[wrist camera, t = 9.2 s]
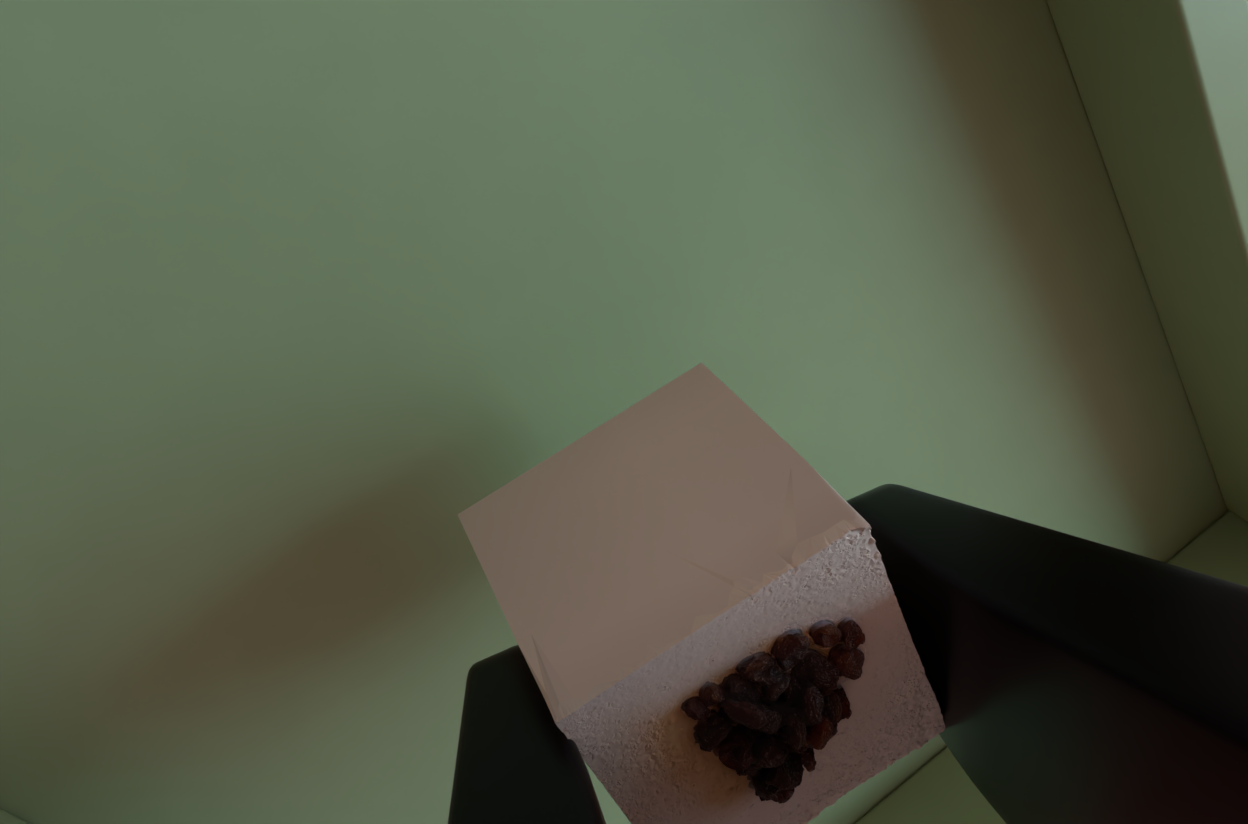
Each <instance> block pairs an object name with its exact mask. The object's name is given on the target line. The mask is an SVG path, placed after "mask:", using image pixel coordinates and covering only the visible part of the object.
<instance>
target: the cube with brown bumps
mask: <svg viewBox="0 0 1248 824" xmlns="http://www.w3.org/2000/svg"><path fill="white" fill-rule="evenodd" d="M458 517H459V519H460V521H461V523H462V525H463V528H464V530H465V532H466V534H467V536H468V538H469V540H470V543H471V545H472V547H473V549H474V551H475V553H476V555H477V558H478V560H479V562H480V564H481V566H482V568H483V570H484V573H485V575H486V577H487V579H488V581H489V583H490V585H491V588H492V590H493V592H494V594H495V596H496V598H497V600H498V603H499V605H500V607H501V609H502V611H503V613H504V615H505V618H506V620H507V622H508V624H509V626H510V628H511V630H512V633H513V635H514V637H515V639H516V641H517V643H518V645H519V647H520V649H521V652H522V654H523V656H524V658H525V660H526V662H527V664H528V666H529V668H530V670H531V672H532V674H533V676H534V678H535V680H536V682H537V684H538V686H539V689H540V691H541V693H542V695H543V697H544V699H545V701H546V703H547V706H548V708H549V710H550V712H551V714H552V717H553V719H554V722H555V724H556V725H557V726H558V728H559V729H560V730H561V732H563V733H564V734H565V736H566V737H567V739H572V740H573V741H574V742H575V743H576V745H577V747H578V749H579V751H580V753H581V756H582V758H583V760H584V761H585V762H586V763H587V765H588V766H589V767H590V769H591V770H592V772H593V773H594V774H595V776H596V777H597V779H598V780H599V781H600V782H601V783H602V784H603V786H604V787H605V789H606V790H607V792H608V793H609V794H610V796H611V797H612V798H613V800H614V801H615V803H616V804H617V805H618V806H619V808H620V809H621V810H622V812H623V813H624V814H625V815H626V817H627V818H628V820H629V821H630V822H631V824H807V823H808V822H809V821H811V820H812V819H814V818H816V817H818V816H819V814H820V812H822V811H823V810H824V808H826V807H828V806H830V805H834V804H835V803H836V801H837V799H839V798H841V797H842V796H844V795H846V793H847V791H852V789H855V788H856V787H858V786H859V784H863V783H864V782H866V781H867V780H868V779H869V778H872V777H874V776H875V775H878V774H879V773H880V771H885V770H886V768H887V765H890V766H892V764H894V762H896V761H897V760H899V759H900V758H903V757H905V756H907V755H909V753H910V751H914V749H916V750H920V748H922V747H923V746H924V744H926V743H928V741H929V740H930V739H933V738H935V737H936V736H937V735H938V734H939V733H941V732H944V729H945V724H944V721H943V715H942V714H941V709H940V707H939V703H938V702H937V700H936V697H935V694H934V692H933V690H932V687H931V686H930V684H929V682H928V680H927V677H926V676H925V671H924V667H923V666H922V663H921V660H920V658H919V655H918V653H917V650H916V649H915V646H914V644H913V641H912V639H911V635H910V633H909V631H908V628H907V625H906V623H905V620H904V617H903V614H902V612H901V609H900V607H899V604H898V603H897V598H896V596H895V595H894V594H895V593H894V591H893V589H892V585H891V584H890V582H889V579H888V577H887V573H886V569H885V567H884V564H883V562H882V559H881V557H882V556H881V554H880V552H879V551H878V550H877V547H876V545H875V542H876V540H875V539H874V538H873V537H872V536H871V530H870V529H872V528H871V527H870V524H869V523H868V522H867V521H866V520H865V519H864V518H863V517H862V516H861V515H860V514H859V513H858V512H857V511H856V510H855V509H854V508H853V507H851V506H850V505H849V504H848V503H847V502H846V501H845V500H844V499H843V498H842V497H841V496H840V495H839V494H838V493H837V492H836V491H835V490H834V489H833V488H832V487H831V486H830V484H829V483H828V482H827V481H826V480H825V479H824V478H823V477H822V476H821V475H820V474H819V473H818V472H817V471H816V470H815V469H814V468H813V467H812V466H811V465H810V464H809V463H808V462H807V461H806V460H805V459H804V458H803V457H802V456H801V455H799V454H798V453H797V452H796V451H795V450H794V449H793V448H792V447H791V446H790V445H789V444H788V443H787V442H786V441H785V440H784V439H782V438H781V437H780V436H779V435H778V434H777V433H776V432H775V431H774V430H773V429H772V428H771V427H770V426H769V425H768V424H766V423H765V422H764V421H763V420H762V419H761V418H760V417H759V416H758V415H757V414H756V413H755V412H754V411H753V410H752V409H751V408H749V407H748V406H747V405H746V404H745V403H744V402H743V401H742V400H741V399H740V398H739V397H738V396H737V395H736V394H735V393H733V392H732V391H731V390H730V389H729V388H728V387H727V386H726V385H725V384H724V383H723V382H722V381H721V380H720V379H719V378H718V377H716V376H715V375H714V374H713V373H712V372H711V371H710V370H709V369H708V368H707V367H706V366H705V365H704V364H703V363H702V362H701V363H699V364H698V365H696V366H695V367H693V368H691V369H690V370H688V371H687V372H685V373H683V374H682V375H680V376H679V377H677V378H675V379H674V380H672V381H671V382H669V383H667V384H666V385H664V386H663V387H661V388H659V389H658V390H656V391H655V392H653V393H651V394H650V395H648V396H647V397H645V398H643V399H642V400H640V401H639V402H637V403H635V404H634V405H632V406H631V407H629V408H627V409H626V410H624V411H623V412H621V413H619V414H618V415H616V416H615V417H613V418H611V419H610V420H608V421H607V422H605V423H603V424H602V425H600V426H599V427H597V428H595V429H594V430H592V431H591V432H589V433H587V434H586V435H584V436H583V437H581V438H579V439H578V440H576V441H575V442H573V443H571V444H570V445H568V446H566V447H565V448H563V449H562V450H560V451H558V452H557V453H555V454H554V455H552V456H550V457H549V458H547V459H546V460H544V461H542V462H541V463H539V464H538V465H536V466H534V467H533V468H531V469H530V470H528V471H526V472H525V473H523V474H522V475H520V476H518V477H517V478H515V479H514V480H512V481H510V482H509V483H507V484H506V485H504V486H502V487H501V488H499V489H498V490H496V491H494V492H493V493H491V494H490V495H488V496H486V497H485V498H483V499H482V500H480V501H478V502H477V503H475V504H474V505H472V506H470V507H469V508H467V509H466V510H464V511H462V512H461V513H459V514H458Z"/></svg>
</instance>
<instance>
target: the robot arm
mask: <svg viewBox="0 0 1248 824" xmlns="http://www.w3.org/2000/svg"><path fill="white" fill-rule="evenodd" d="M846 502H847V503H848V504H849V505H850V506H851V507H853V508H854V509H855V510H856V511H857V512H858V513H859V514H860V515H861V516H862V517H863V518H864V519H865V520H866V521H867V522H868V523H869V524H870V527H871V528H872V529H870V530H871V536H872V537H873V538H874V539H875V540H876V542H875V545H876V547H877V550H878V551H879V552H880V554H881V556H882V557H881V559H882V562H883V564H884V567H885V569H886V573H887V577H888V579H889V582H890V584H891V585H892V589H893V591H894V593H895V594H894V595H895V596H896V598H897V603H898V604H899V607H900V609H901V612H902V614H903V617H904V620H905V623H906V625H907V628H908V631H909V633H910V635H911V639H912V641H913V644H914V646H915V649H916V650H917V653H918V655H919V658H920V660H921V663H922V666H923V667H924V671H925V676H926V677H927V680H928V682H929V684H930V686H931V687H932V690H933V692H934V694H935V697H936V700H937V702H938V703H939V707H940V709H941V714H942V715H943V721H944V724H945V729H944V732H941V733H939V735H940V737H941V738H942V740H943V741H944V742H945V744H946V745H947V747H948V748H949V750H950V751H951V753H952V754H953V756H954V757H955V759H956V760H957V761H958V763H959V764H960V766H961V767H962V768H963V770H964V771H965V773H966V774H967V775H968V777H969V778H970V780H971V781H972V782H973V783H974V785H975V786H976V787H977V788H978V790H979V791H980V792H981V793H982V795H983V796H984V797H985V798H986V800H987V801H988V802H989V803H990V805H991V806H992V807H993V808H994V810H995V811H996V812H997V813H998V814H999V815H1000V817H1001V818H1002V819H1003V820H1004V821H1005V823H1006V824H1248V587H1247V586H1244V585H1240V584H1237V583H1234V582H1230V581H1227V580H1223V579H1220V578H1216V577H1213V576H1210V575H1206V574H1203V573H1199V572H1196V571H1193V570H1189V569H1186V568H1182V567H1179V566H1175V565H1172V564H1169V563H1165V562H1162V561H1158V560H1155V559H1151V558H1148V557H1145V556H1141V555H1138V554H1134V553H1131V552H1128V551H1124V550H1121V549H1117V548H1114V547H1110V546H1107V545H1104V544H1100V543H1097V542H1093V541H1090V540H1086V539H1083V538H1080V537H1076V536H1073V535H1069V534H1066V533H1063V532H1059V531H1056V530H1052V529H1049V528H1045V527H1042V526H1039V525H1035V524H1032V523H1028V522H1025V521H1021V520H1018V519H1015V518H1011V517H1008V516H1004V515H1001V514H998V513H994V512H991V511H987V510H984V509H980V508H977V507H974V506H970V505H967V504H963V503H960V502H956V501H953V500H950V499H946V498H943V497H939V496H936V495H933V494H929V493H926V492H922V491H919V490H915V489H912V488H909V487H905V486H902V485H897V484H885V485H881V486H878V487H876V488H874V489H872V490H869V491H867V492H865V493H862V494H860V495H858V496H856V497H853V498H851V499H849V500H847V501H846ZM448 824H606V822H605V819H604V816H603V813H602V810H601V807H600V804H599V801H598V798H597V795H596V792H595V790H594V787H593V784H592V781H591V778H590V775H589V772H588V769H587V767H586V765H585V762H584V760H583V758H582V756H581V753H580V751H579V749H578V747H577V745H576V743H575V742H574V741H573V740H572V739H567V737H566V736H565V734H564V733H563V732H561V730H560V729H559V728H558V726H557V725H556V724H555V722H554V719H553V717H552V714H551V712H550V710H549V708H548V706H547V703H546V701H545V699H544V697H543V695H542V693H541V691H540V689H539V686H538V684H537V682H536V680H535V678H534V676H533V674H532V672H531V670H530V668H529V666H528V664H527V662H526V660H525V658H524V656H523V654H522V652H521V649H520V647H519V645H515V646H513V647H510V648H508V649H506V650H503V651H501V652H499V653H497V654H494V655H492V656H490V657H488V658H485V659H483V660H481V661H478V662H476V663H475V664H473V665H472V667H471V668H470V669H469V672H468V675H467V680H466V687H465V695H464V703H463V710H462V718H461V725H460V733H459V741H458V748H457V756H456V763H455V771H454V779H453V786H452V794H451V802H450V809H449V817H448Z"/></svg>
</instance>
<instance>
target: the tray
mask: <svg viewBox="0 0 1248 824" xmlns="http://www.w3.org/2000/svg"><path fill="white" fill-rule="evenodd" d="M701 362H702V363H703V364H704V365H705V366H706V367H707V368H708V369H709V370H710V371H711V372H712V373H713V374H714V375H715V376H716V377H718V378H719V379H720V380H721V381H722V382H723V383H724V384H725V385H726V386H727V387H728V388H729V389H730V390H731V391H732V392H733V393H735V394H736V395H737V396H738V397H739V398H740V399H741V400H742V401H743V402H744V403H745V404H746V405H747V406H748V407H749V408H751V409H752V410H753V411H754V412H755V413H756V414H757V415H758V416H759V417H760V418H761V419H762V420H763V421H764V422H765V423H766V424H768V425H769V426H770V427H771V428H772V429H773V430H774V431H775V432H776V433H777V434H778V435H779V436H780V437H781V438H782V439H784V440H785V441H786V442H787V443H788V444H789V445H790V446H791V447H792V448H793V449H794V450H795V451H796V452H797V453H798V454H799V455H801V456H802V457H803V458H804V459H805V460H806V461H807V462H808V463H809V464H810V465H811V466H812V467H813V468H814V469H815V470H816V471H817V472H818V473H819V474H820V475H821V476H822V477H823V478H824V479H825V480H826V481H827V482H828V483H829V484H830V486H831V487H832V488H833V489H834V490H835V491H836V492H837V493H838V494H839V495H840V496H841V497H842V498H843V499H844V500H845V501H847V500H849V499H851V498H853V497H856V496H858V495H860V494H862V493H865V492H867V491H869V490H872V489H874V488H876V487H878V486H881V485H885V484H897V485H902V486H905V487H909V488H912V489H915V490H919V491H922V492H926V493H929V494H933V495H936V496H939V497H943V498H946V499H950V500H953V501H956V502H960V503H963V504H967V505H970V506H974V507H977V508H980V509H984V510H987V511H991V512H994V513H998V514H1001V515H1004V516H1008V517H1011V518H1015V519H1018V520H1021V521H1025V522H1028V523H1032V524H1035V525H1039V526H1042V527H1045V528H1049V529H1052V530H1056V531H1059V532H1063V533H1066V534H1069V535H1073V536H1076V537H1080V538H1083V539H1086V540H1090V541H1093V542H1097V543H1100V544H1104V545H1107V546H1110V547H1114V548H1117V549H1121V550H1124V551H1128V552H1131V553H1134V554H1138V555H1141V556H1145V557H1148V558H1151V559H1155V560H1158V561H1162V562H1165V563H1169V564H1172V565H1175V566H1179V567H1182V568H1186V569H1189V570H1193V571H1196V572H1199V573H1203V574H1206V575H1210V576H1213V577H1216V578H1220V579H1223V580H1227V581H1230V582H1234V583H1237V584H1240V585H1244V586H1247V587H1248V0H0V824H448V817H449V809H450V802H451V794H452V786H453V779H454V771H455V763H456V756H457V748H458V741H459V733H460V725H461V718H462V710H463V703H464V695H465V687H466V680H467V675H468V672H469V669H470V668H471V667H472V665H473V664H475V663H476V662H478V661H481V660H483V659H485V658H488V657H490V656H492V655H494V654H497V653H499V652H501V651H503V650H506V649H508V648H510V647H513V646H515V645H518V643H517V641H516V639H515V637H514V635H513V633H512V630H511V628H510V626H509V624H508V622H507V620H506V618H505V615H504V613H503V611H502V609H501V607H500V605H499V603H498V600H497V598H496V596H495V594H494V592H493V590H492V588H491V585H490V583H489V581H488V579H487V577H486V575H485V573H484V570H483V568H482V566H481V564H480V562H479V560H478V558H477V555H476V553H475V551H474V549H473V547H472V545H471V543H470V540H469V538H468V536H467V534H466V532H465V530H464V528H463V525H462V523H461V521H460V519H459V517H458V514H459V513H461V512H462V511H464V510H466V509H467V508H469V507H470V506H472V505H474V504H475V503H477V502H478V501H480V500H482V499H483V498H485V497H486V496H488V495H490V494H491V493H493V492H494V491H496V490H498V489H499V488H501V487H502V486H504V485H506V484H507V483H509V482H510V481H512V480H514V479H515V478H517V477H518V476H520V475H522V474H523V473H525V472H526V471H528V470H530V469H531V468H533V467H534V466H536V465H538V464H539V463H541V462H542V461H544V460H546V459H547V458H549V457H550V456H552V455H554V454H555V453H557V452H558V451H560V450H562V449H563V448H565V447H566V446H568V445H570V444H571V443H573V442H575V441H576V440H578V439H579V438H581V437H583V436H584V435H586V434H587V433H589V432H591V431H592V430H594V429H595V428H597V427H599V426H600V425H602V424H603V423H605V422H607V421H608V420H610V419H611V418H613V417H615V416H616V415H618V414H619V413H621V412H623V411H624V410H626V409H627V408H629V407H631V406H632V405H634V404H635V403H637V402H639V401H640V400H642V399H643V398H645V397H647V396H648V395H650V394H651V393H653V392H655V391H656V390H658V389H659V388H661V387H663V386H664V385H666V384H667V383H669V382H671V381H672V380H674V379H675V378H677V377H679V376H680V375H682V374H683V373H685V372H687V371H688V370H690V369H691V368H693V367H695V366H696V365H698V364H699V363H701ZM584 762H585V761H584ZM585 765H586V767H587V769H588V772H589V775H590V778H591V781H592V784H593V787H594V790H595V792H596V795H597V798H598V801H599V804H600V807H601V810H602V813H603V816H604V819H605V822H606V824H631V822H630V821H629V820H628V818H627V817H626V815H625V814H624V813H623V812H622V810H621V809H620V808H619V806H618V805H617V804H616V803H615V801H614V800H613V798H612V797H611V796H610V794H609V793H608V792H607V790H606V789H605V787H604V786H603V784H602V783H601V782H600V781H599V780H598V779H597V777H596V776H595V774H594V773H593V772H592V770H591V769H590V767H589V766H588V765H587V763H586V762H585ZM807 824H1006V823H1005V821H1004V820H1003V819H1002V818H1001V817H1000V815H999V814H998V813H997V812H996V811H995V810H994V808H993V807H992V806H991V805H990V803H989V802H988V801H987V800H986V798H985V797H984V796H983V795H982V793H981V792H980V791H979V790H978V788H977V787H976V786H975V785H974V783H973V782H972V781H971V780H970V778H969V777H968V775H967V774H966V773H965V771H964V770H963V768H962V767H961V766H960V764H959V763H958V761H957V760H956V759H955V757H954V756H953V754H952V753H951V751H950V750H949V748H948V747H947V745H946V744H945V742H944V741H943V740H942V738H941V737H940V735H939V734H938V735H937V736H936V737H935V738H933V739H930V740H929V741H928V743H926V744H924V746H923V747H922V748H920V750H916V749H914V751H910V753H909V755H907V756H905V757H903V758H900V759H899V760H897V761H896V762H894V764H892V766H890V765H887V768H886V770H885V771H880V773H879V774H878V775H875V776H874V777H872V778H869V779H868V780H867V781H866V782H864V783H863V784H859V786H858V787H856V788H855V789H852V791H847V793H846V795H844V796H842V797H841V798H839V799H837V801H836V803H835V804H834V805H830V806H828V807H826V808H824V810H823V811H822V812H820V814H819V816H818V817H816V818H814V819H812V820H811V821H809V822H808V823H807Z"/></svg>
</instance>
